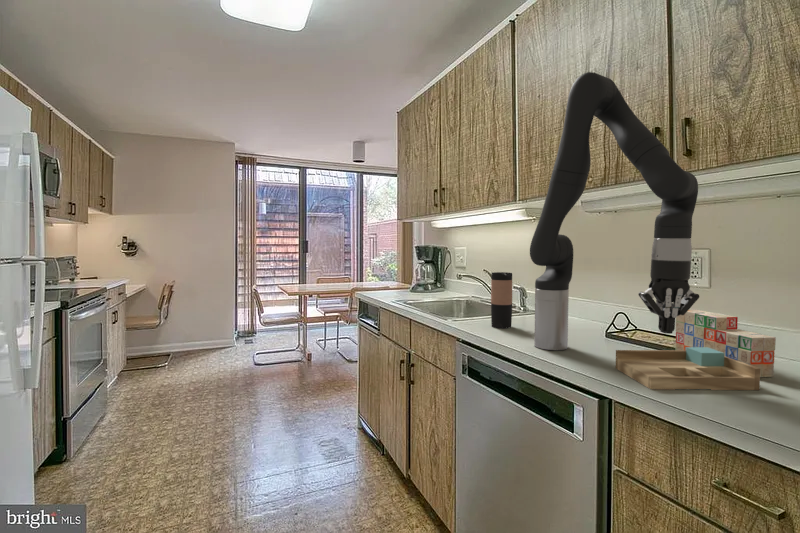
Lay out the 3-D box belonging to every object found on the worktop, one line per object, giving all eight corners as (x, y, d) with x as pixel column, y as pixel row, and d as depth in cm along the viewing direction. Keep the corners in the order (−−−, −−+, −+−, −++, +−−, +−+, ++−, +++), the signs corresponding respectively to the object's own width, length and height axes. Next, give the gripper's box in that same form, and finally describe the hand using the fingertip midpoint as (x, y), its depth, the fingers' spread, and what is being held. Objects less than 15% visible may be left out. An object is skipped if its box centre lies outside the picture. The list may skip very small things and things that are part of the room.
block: (685, 359, 93) (686, 347, 93) (707, 359, 93) (707, 347, 93) (701, 366, 88) (701, 352, 88) (723, 366, 88) (724, 353, 88)
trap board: (615, 368, 95) (615, 350, 95) (707, 368, 94) (708, 350, 94) (650, 389, 81) (651, 368, 81) (759, 390, 80) (760, 368, 80)
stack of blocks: (774, 377, 88) (777, 323, 87) (749, 378, 87) (751, 324, 87) (695, 352, 109) (696, 308, 109) (674, 352, 109) (675, 309, 108)
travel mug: (493, 323, 150) (493, 272, 149) (513, 325, 146) (514, 272, 145) (488, 327, 143) (489, 273, 142) (509, 329, 139) (510, 273, 138)
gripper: (651, 259, 86) (647, 336, 87) (712, 259, 85) (707, 337, 87) (632, 257, 93) (628, 328, 94) (688, 257, 93) (683, 329, 94)
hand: (666, 332), depth 90 cm, fingers closed
